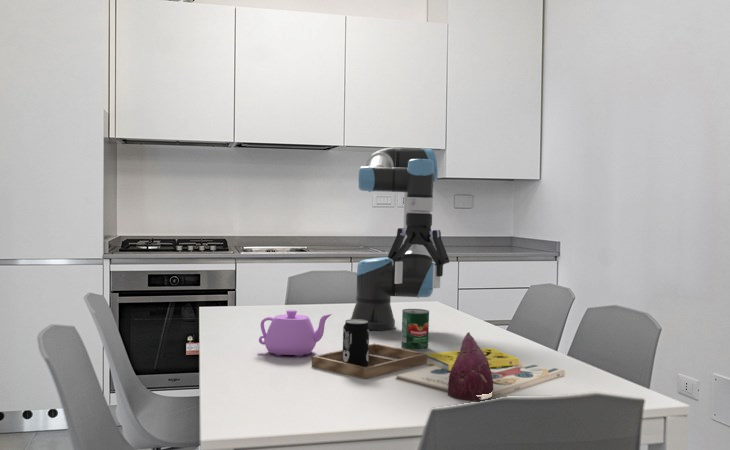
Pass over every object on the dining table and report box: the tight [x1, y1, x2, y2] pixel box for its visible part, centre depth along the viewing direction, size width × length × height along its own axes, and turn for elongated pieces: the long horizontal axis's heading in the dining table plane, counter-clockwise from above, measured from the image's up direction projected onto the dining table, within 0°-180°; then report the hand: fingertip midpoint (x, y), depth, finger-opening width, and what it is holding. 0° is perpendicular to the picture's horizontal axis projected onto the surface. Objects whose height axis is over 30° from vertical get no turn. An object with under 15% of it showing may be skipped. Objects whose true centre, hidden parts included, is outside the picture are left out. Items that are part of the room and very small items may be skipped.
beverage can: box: [341, 318, 370, 367], centre depth 180 cm, size 7×7×12 cm
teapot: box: [258, 309, 333, 357], centre depth 196 cm, size 20×13×12 cm, turn 87°
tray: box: [311, 343, 428, 380], centre depth 185 cm, size 18×25×2 cm
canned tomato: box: [400, 308, 430, 352], centre depth 208 cm, size 8×8×11 cm
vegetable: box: [447, 331, 494, 402], centre depth 159 cm, size 10×10×15 cm
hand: (416, 285), depth 207 cm, fingers open, 13 cm apart
